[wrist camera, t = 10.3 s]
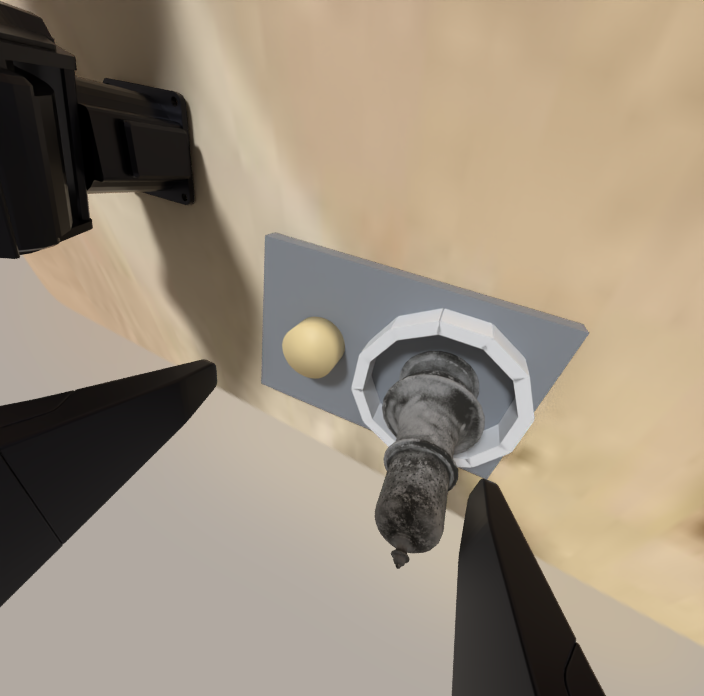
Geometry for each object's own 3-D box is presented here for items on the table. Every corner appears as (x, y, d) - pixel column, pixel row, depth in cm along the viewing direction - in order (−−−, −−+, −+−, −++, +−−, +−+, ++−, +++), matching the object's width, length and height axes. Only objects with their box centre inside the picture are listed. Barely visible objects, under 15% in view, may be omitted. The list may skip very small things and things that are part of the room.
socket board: (269, 376, 28) (247, 396, 26) (275, 232, 21) (245, 240, 19) (486, 467, 24) (486, 502, 21) (583, 324, 17) (601, 350, 14)
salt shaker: (385, 399, 23) (313, 563, 13) (410, 333, 20) (338, 484, 10) (462, 431, 22) (446, 637, 12) (501, 366, 19) (522, 575, 9)
